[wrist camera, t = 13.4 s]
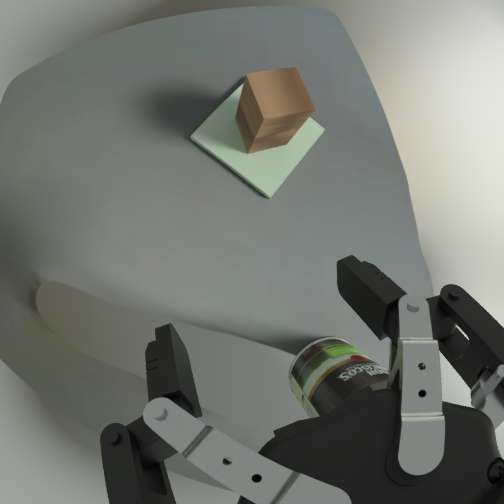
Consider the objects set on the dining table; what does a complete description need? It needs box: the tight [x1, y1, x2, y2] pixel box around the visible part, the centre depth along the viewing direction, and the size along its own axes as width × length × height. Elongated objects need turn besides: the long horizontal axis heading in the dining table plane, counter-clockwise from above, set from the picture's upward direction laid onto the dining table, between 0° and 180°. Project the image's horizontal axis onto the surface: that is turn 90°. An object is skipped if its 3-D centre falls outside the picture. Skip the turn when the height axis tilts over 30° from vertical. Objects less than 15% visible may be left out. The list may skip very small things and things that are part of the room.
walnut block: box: [235, 67, 315, 154], centre depth 27 cm, size 5×5×10 cm
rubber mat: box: [190, 83, 325, 199], centre depth 33 cm, size 12×12×1 cm
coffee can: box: [289, 337, 389, 418], centre depth 28 cm, size 10×10×14 cm
